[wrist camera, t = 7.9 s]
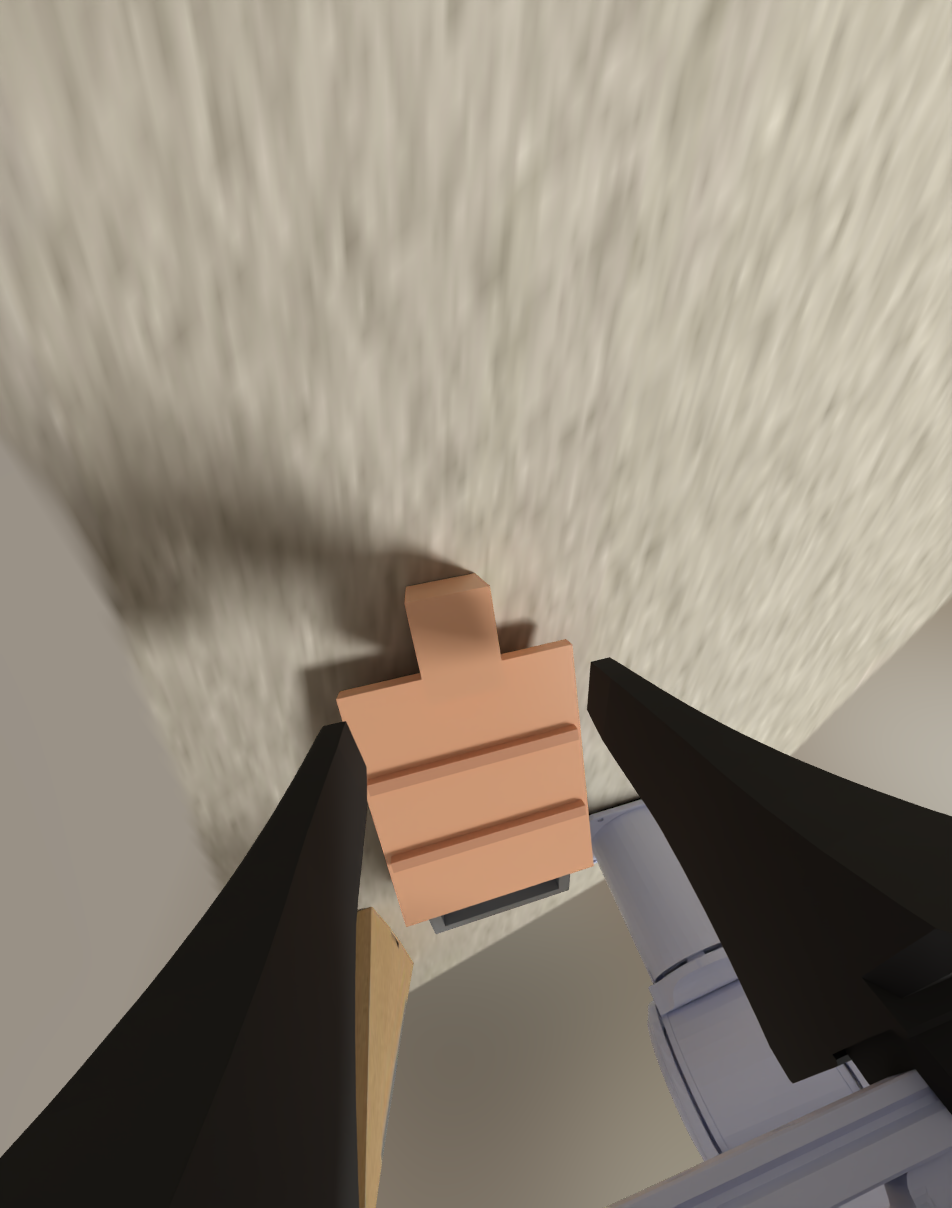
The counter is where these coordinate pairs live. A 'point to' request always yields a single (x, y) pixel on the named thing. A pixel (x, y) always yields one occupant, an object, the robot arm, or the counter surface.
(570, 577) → the counter surface
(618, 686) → the robot arm
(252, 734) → the counter surface
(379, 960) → the sandwich container
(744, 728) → the counter surface
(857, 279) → the counter surface
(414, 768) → the lid
